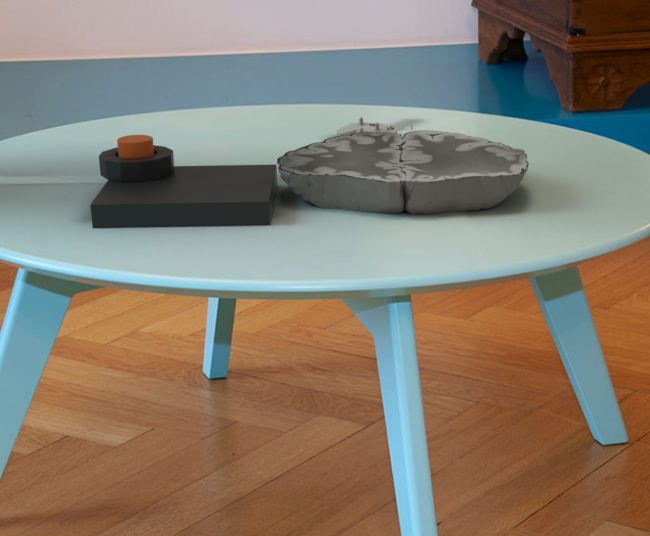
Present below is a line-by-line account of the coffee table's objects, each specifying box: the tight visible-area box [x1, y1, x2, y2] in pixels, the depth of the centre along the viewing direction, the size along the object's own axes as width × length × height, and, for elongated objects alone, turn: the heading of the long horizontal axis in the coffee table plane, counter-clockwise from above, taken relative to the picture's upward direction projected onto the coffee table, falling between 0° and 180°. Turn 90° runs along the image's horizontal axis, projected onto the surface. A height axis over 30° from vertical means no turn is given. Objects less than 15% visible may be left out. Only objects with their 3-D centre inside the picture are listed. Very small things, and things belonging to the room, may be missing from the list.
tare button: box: [116, 134, 154, 158], centre depth 90 cm, size 3×3×2 cm
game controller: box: [335, 117, 413, 136], centre depth 107 cm, size 6×12×3 cm, turn 167°
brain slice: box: [276, 129, 529, 215], centre depth 91 cm, size 20×17×3 cm
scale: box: [89, 144, 278, 229], centre depth 88 cm, size 14×12×4 cm
